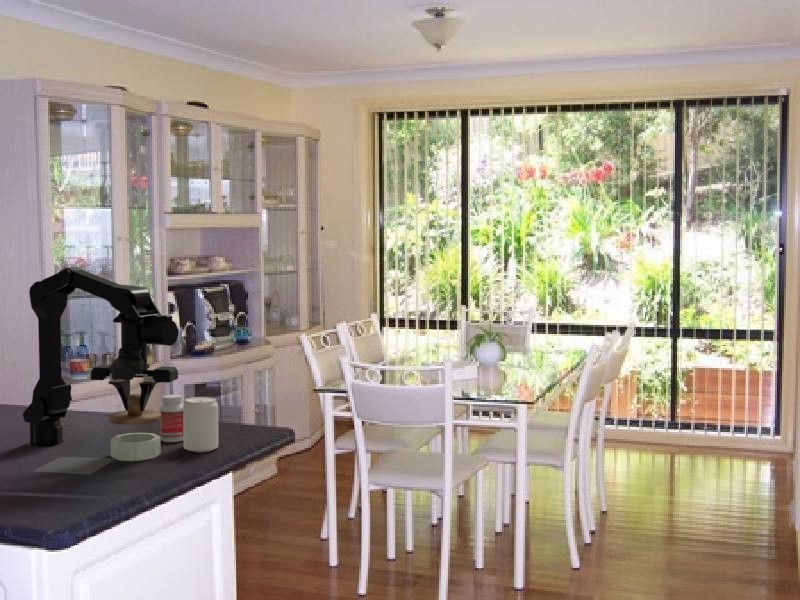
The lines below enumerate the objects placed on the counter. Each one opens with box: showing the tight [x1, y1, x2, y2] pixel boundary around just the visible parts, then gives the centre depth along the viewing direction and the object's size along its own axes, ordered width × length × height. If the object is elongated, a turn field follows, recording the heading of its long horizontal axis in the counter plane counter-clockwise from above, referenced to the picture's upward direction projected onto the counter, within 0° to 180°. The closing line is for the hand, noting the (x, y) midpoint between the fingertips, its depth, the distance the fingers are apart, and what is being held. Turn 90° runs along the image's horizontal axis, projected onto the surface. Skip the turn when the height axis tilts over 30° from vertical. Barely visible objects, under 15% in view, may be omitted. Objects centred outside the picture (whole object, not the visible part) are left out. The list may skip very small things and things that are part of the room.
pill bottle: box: [159, 394, 184, 443], centre depth 232 cm, size 6×6×11 cm
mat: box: [31, 456, 116, 475], centre depth 205 cm, size 13×13×1 cm
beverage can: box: [183, 396, 219, 453], centre depth 222 cm, size 8×8×12 cm
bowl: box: [110, 432, 161, 462], centre depth 214 cm, size 10×10×5 cm
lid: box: [107, 393, 161, 426], centre depth 213 cm, size 12×12×6 cm
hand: (134, 410), depth 214 cm, fingers closed on lid, 3 cm apart
